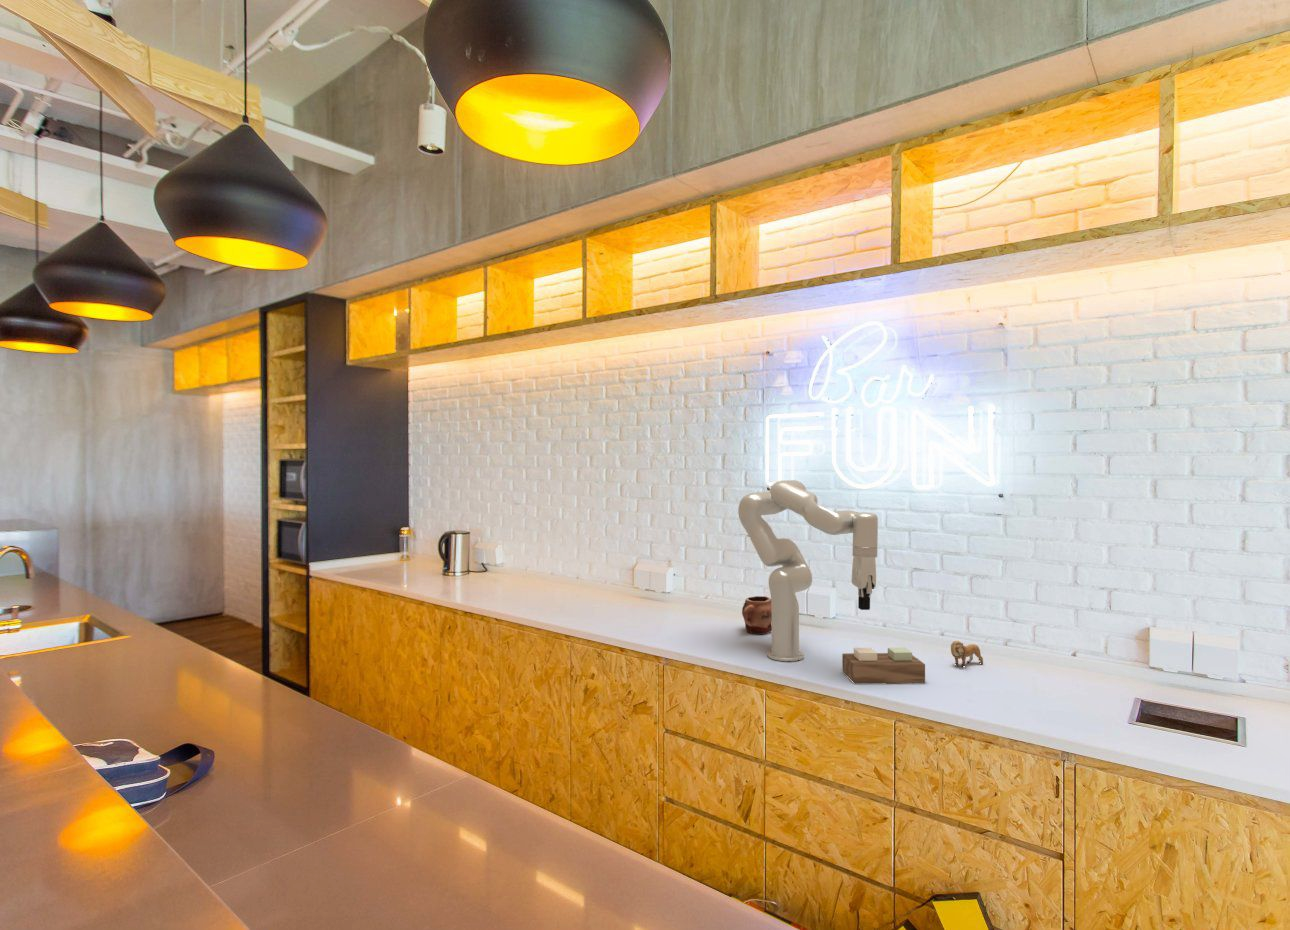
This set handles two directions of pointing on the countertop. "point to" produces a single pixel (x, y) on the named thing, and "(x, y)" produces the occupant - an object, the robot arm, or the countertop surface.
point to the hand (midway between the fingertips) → (864, 609)
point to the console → (883, 670)
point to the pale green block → (900, 654)
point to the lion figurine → (965, 652)
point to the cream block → (865, 654)
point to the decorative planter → (757, 614)
